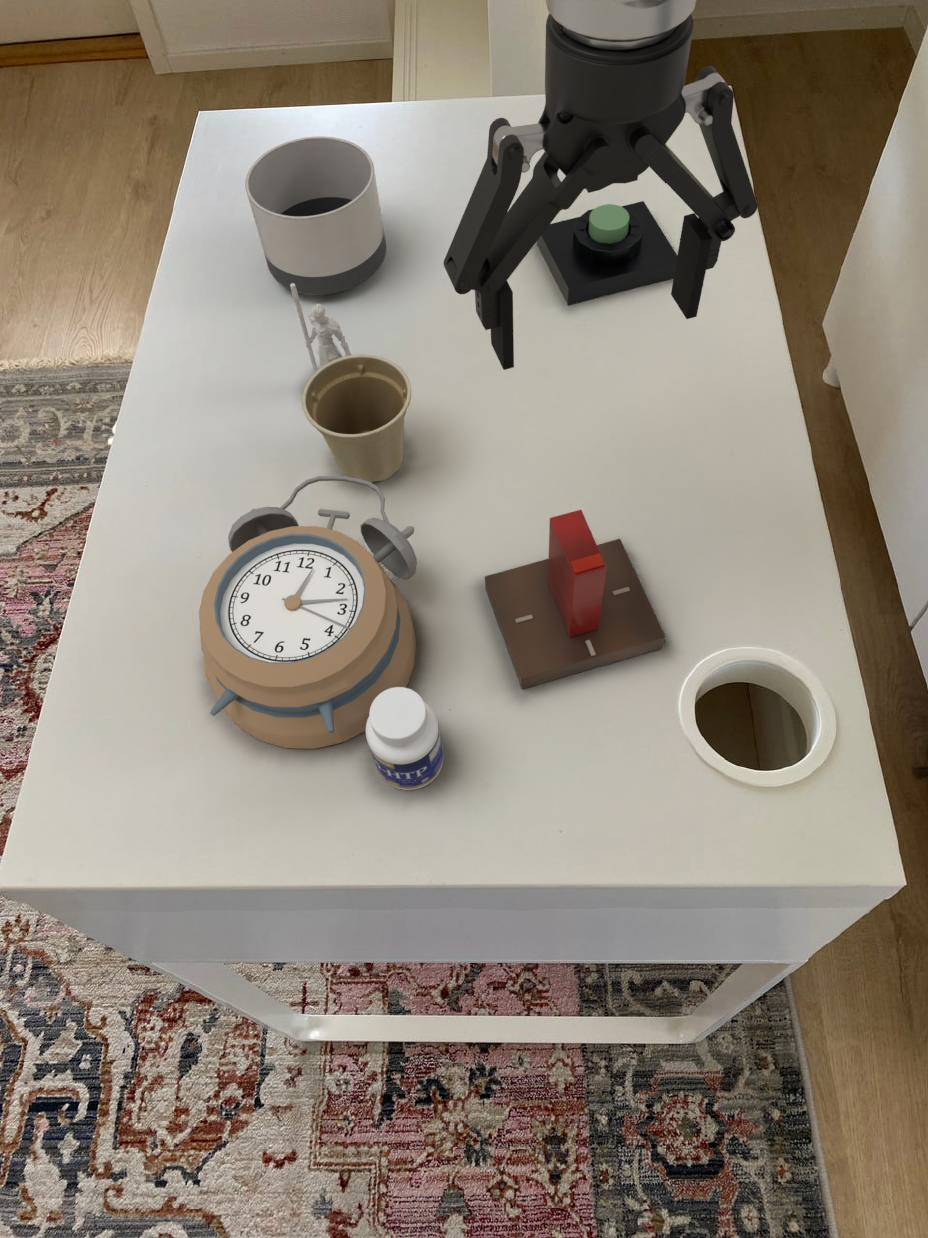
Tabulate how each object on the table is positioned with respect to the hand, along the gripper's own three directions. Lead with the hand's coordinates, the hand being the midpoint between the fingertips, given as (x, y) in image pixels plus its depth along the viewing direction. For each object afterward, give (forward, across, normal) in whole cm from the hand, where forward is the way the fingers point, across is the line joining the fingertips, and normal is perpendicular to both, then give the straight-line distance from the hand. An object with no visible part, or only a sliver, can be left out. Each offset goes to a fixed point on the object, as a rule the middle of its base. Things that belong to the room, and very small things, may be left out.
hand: (593, 330), depth 66 cm
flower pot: (+21, -16, +12) cm, 29 cm away
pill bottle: (+20, -21, -18) cm, 35 cm away
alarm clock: (+21, -25, -4) cm, 32 cm away
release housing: (+20, +14, +29) cm, 38 cm away
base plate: (+20, -5, -11) cm, 23 cm away
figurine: (+21, -17, +22) cm, 34 cm away
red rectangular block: (+18, -5, -11) cm, 22 cm away
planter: (+21, -14, +40) cm, 47 cm away
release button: (+17, +14, +29) cm, 36 cm away
